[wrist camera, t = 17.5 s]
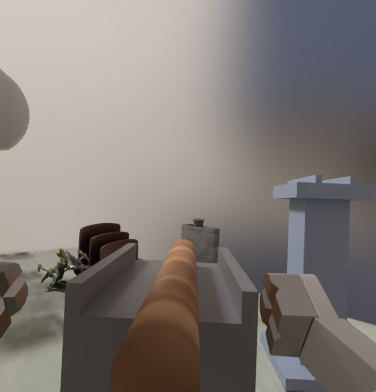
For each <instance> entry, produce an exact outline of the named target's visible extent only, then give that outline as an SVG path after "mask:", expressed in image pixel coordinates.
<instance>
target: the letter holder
mask: <svg viewBox="0 0 376 392" xmlns="http://www.w3.org/2000/svg"><path fill="white" fill-rule="evenodd" d="M128 243H137V250H136V260H138V241H137V240H135V239H129V233H127V232H120V225H119V224H115V223H100V224H94V225H89V226H85V227H83V228H81V229H80V235H79V251H82V252H83V253H85V254H86V256H87V257H88V258H89V261H87V260H86V259H84V258H83V259H81V261H82V262H81V263H82V265H84V266H86V267H87V269H88V268H90V267H92V266H93V265H95V264H96V263H98V262H99V261H101V260H103V259H104V258H106V257H107V256H109V255H110V254H112V253H114V252H115V251H117V250H118V249H120V248H122V247H123V246H125V245H126V244H128ZM79 251H78V259H80V258H81V254H80V253H79Z"/></svg>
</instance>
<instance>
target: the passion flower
mask: <svg viewBox="0 0 376 392" xmlns="http://www.w3.org/2000/svg"><path fill="white" fill-rule="evenodd" d="M59 251H60V253H58V251H57V256H58V257H60V259H61V260H60V263H59V262H58V265H57V266H55V268H51V269H49V271H47V270H45V269H43V268H42V267H41V266H42V265H40V264H39V265H38V272H40V268H41V269H43V270H45V271H47V274H46V275H45V277H44V278H43V279H42V281H41V283H42V282H43V281H44V280H45V279H46V278H48V277H51V278H52V277H53V278H52V284H51V287H50V289H51V288H52V286H53V285H54V283H56V282H57V281H59V280H61V279H62V277H63V275H64V272H65V271H67V270H70V269H71V270H74V273H75V274H76V275H79V274H80V273H82V272H84V271H85V270H87V267H86V266H84V265H82V263H81V262H82V261H81V259H83V258H84V259H86V260H87V261H89V258H88V257H87V256H86V254H85V253H83V252H82V251H79V253H80V254H81V258H80V259H76V258H74V257H73V256H72V255H71V254H70V253H69V252H68V251H66V253H65V252H64V250H63V249H60V250H59ZM65 268H67V269H66V270H65V271H64V269H65ZM53 273H56V274H57V276H55V275H53ZM50 289H49V290H50Z"/></svg>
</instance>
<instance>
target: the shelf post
mask: <svg viewBox="0 0 376 392" xmlns="http://www.w3.org/2000/svg"><path fill="white" fill-rule="evenodd" d="M356 182H357V177H356V176H349V177H343V178H337V179H331V180H325V181H322V175H313V176H309V177H304V178H300V179H295V180H291V181H288V184H284V185H278V186H274V194H273V198H277V199H290V205H289V236H288V267H287V274H314V275H315V276H316V277H317V279H318V280H319V282H320V284H321V286H322V288H323V290H324V292H325V293H326V295H327V297H328V299H329V301H330V303H331V304H332V306H333V308H334V310H335V312H336V314H337V316H338V317H339V319H345V320H346V321H347V292H348V291H347V290H348V256H349V254H348V253H349V252H348V251H349V218H350V201H358V200H359V201H362V200H363V201H369V200H371V201H372V200H375V185H364V184H363V185H361V184H357V183H356ZM265 334H266V331H261V342H262V344H263V346H264V348H265V350H266V352H267V354H268V356H269V358H270V360H271V362H272V364H273V366H274V368H275V371H276V373H277V375H278V377H279V379H280V381H281V383H282V385H283V387H284V389H285V391H298V392H325V390H324V389H323V388H322V387H321V385H320V384H319V383H318V382H317V381H316V379H315V378H314V377H313V376H312V374H311V373H310V372H309V371H308V370H307V368H306V367H305V366H304V365H303V363H302V362H301V361H300V360H299V357H286V356H273V355H270V351H269V347H268V343H267V339H266V335H265Z"/></svg>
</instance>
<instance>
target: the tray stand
mask: <svg viewBox="0 0 376 392" xmlns="http://www.w3.org/2000/svg"><path fill="white" fill-rule="evenodd" d="M136 250H137V243H128V244H126V245H125V246H123V247H122V248H120V249H118V250H117V251H115V252H114V253H112V254H110V255H109V256H107V257H106V258H104V259H103V260H101V261H99V262H98V263H96V264H95V265H93V266H92V267H90V268H88V269H87V270H85V271H84V272H82V273H80V274H79V275H77V276H76V277H74V278H73V279H71V280H69V281H68V282H66V290H65V310H64V330H63V350H62V370H61V390H60V392H113V391H112V387H111V379H110V376H111V368H112V364H113V361H114V359H115V357H116V354H117V352H118V351H119V349H120V347H121V345H122V343H123V341H124V339H125V337H126V335H127V333H128V331H129V329H130V327H131V325H132V323H133V321H134V319H135V317H136V315H137V313H138V311H139V309H140V307H141V305H142V303H143V301H144V299H145V297H146V295H147V293H148V292H149V290H150V288H151V286H152V284H153V282H154V280H155V278H156V276H157V274H158V272H159V270H160V268H161V266H162V264H163V262H164V261H154V260H136ZM196 267H197V295H198V322H199V349H200V376H201V380H200V388H199V392H255V384H256V355H257V326H258V298H259V292H258V290H257V289H256V288H255V286H254V285H253V284H252V282H251V281H250V279H249V278H248V276H247V275H246V274H245V272H244V271H243V270H242V268H241V267H240V265H239V264H238V263H237V261H236V260H235V259H234V257H233V256H232V254H231V253H230V252H229V250H228V249H227V248H226V247H218V263H198V262H196Z"/></svg>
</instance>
